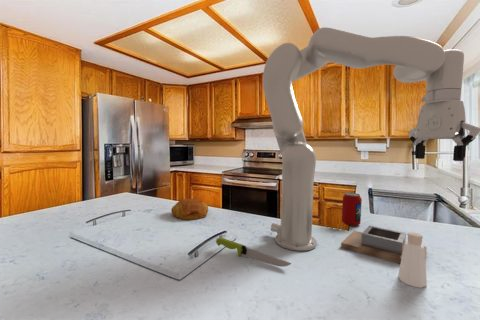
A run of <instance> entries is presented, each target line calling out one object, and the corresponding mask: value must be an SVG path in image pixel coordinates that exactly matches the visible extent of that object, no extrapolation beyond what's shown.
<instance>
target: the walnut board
mask: <svg viewBox="0 0 480 320" xmlns="http://www.w3.org/2000/svg"><path fill="white" fill-rule="evenodd" d="M362 233H363V232H362V231H357V230H353V231H352V232H351V233H350V234H349V235H347V237H346V238H345V239H343V240H342V241H341V243H340V244H341V245H340V248H342V249H345V250H348V251H351V252H352V251H353V252H357V253H360V254H363V255H367V256H371V257H375V258H377V259H381V260H386V261H389V262H392V263H397V264H399V265H400V264H401V258H402V255H397V254H393V253H390V252H386V251H382V250H378V249H374V248H370V247H366V246H362V245H361V240H362ZM406 242H407V241H405V243H406ZM423 247H424V249H425V261H426V258H427V247H428V246H424V245H423ZM402 253H403V252H402Z"/></svg>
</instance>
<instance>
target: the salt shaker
mask: <svg viewBox="0 0 480 320" xmlns="http://www.w3.org/2000/svg"><path fill="white" fill-rule="evenodd" d="M406 236H407V241H405V242H406V243H405V244H404V248H403V253H402V258H401V264H399V265H400V266H399V269H398V275H397V276H398V279H399V281H400V282H402V283H404V284H406V285H407V286H409V287H414V288H420V289H421V288H424V287H428V283H427V282H428V281H427V264H426V263H427V262H426V260H425V249H424V247H423V246H424V245H423V244H422V243H423V235H422V234H420V233H418V232H414V231H413V232H411V231H410V232H407V233H406Z"/></svg>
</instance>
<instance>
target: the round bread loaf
mask: <svg viewBox="0 0 480 320" xmlns="http://www.w3.org/2000/svg"><path fill="white" fill-rule="evenodd" d="M208 212H209V206H208V205H207V204H206V203H205V202H204V201H202V200H201V199H198V198H187V199H180V200H178V202H176V203H175V204H174V205H173V206H172V207H171V213H172V216H173V217H174V218H177V219H180V220H181V221H183V220H185V221H189V220H199V219H202V218H206V217H207V215H208Z"/></svg>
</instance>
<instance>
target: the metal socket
mask: <svg viewBox="0 0 480 320" xmlns="http://www.w3.org/2000/svg"><path fill="white" fill-rule="evenodd" d="M406 236H407V232H403V231H399V230H393V229H390V228H389V229H388V228H384V227H378V226H373V225H368V226H367V227H366V229H364V231H363V232H362V240H361V245H362V246H366V247H370V248H374V249H378V250H382V251H386V252H390V253H393V254H397V255H402V252H403V248H404V244H405V242H406V240H407V239H406V238H407V237H406Z"/></svg>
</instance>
